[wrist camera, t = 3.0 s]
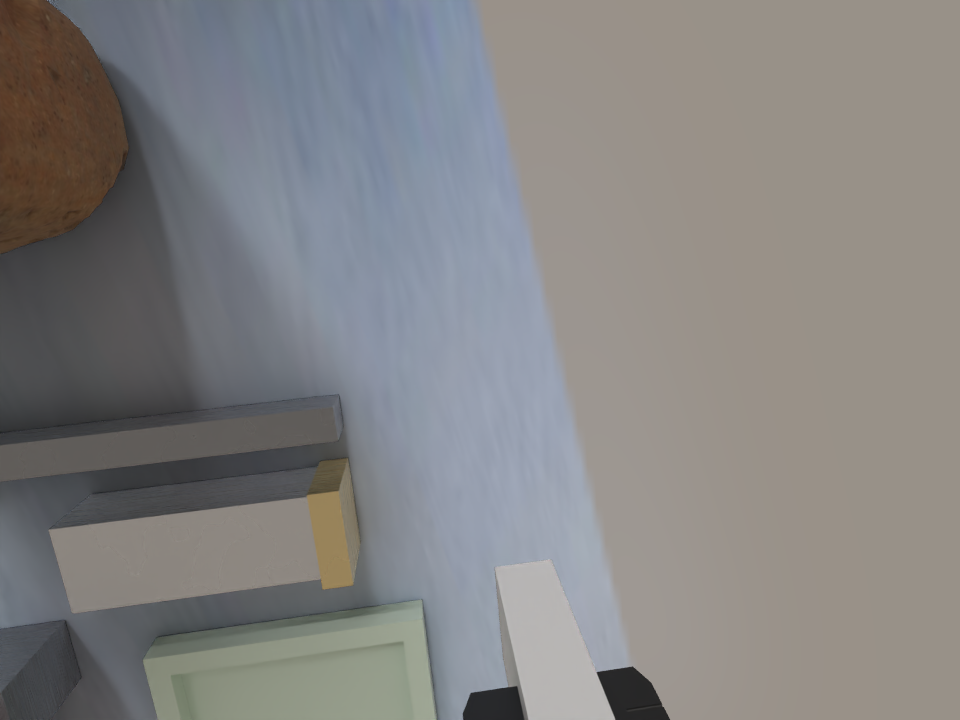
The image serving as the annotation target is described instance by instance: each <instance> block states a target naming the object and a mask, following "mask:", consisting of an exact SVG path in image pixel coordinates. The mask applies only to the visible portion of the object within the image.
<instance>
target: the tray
mask: <svg viewBox="0 0 960 720" xmlns="http://www.w3.org/2000/svg"><path fill="white" fill-rule="evenodd" d="M143 664H144V668H145V672H146V676H147V680H148V684H149V687H150V691H151V695H152V699H153V703H154V707H155V711H156V715H157V719H158V720H437V714H436V706H435V698H434V690H433V682H432V674H431V666H430V659H429V651H428V643H427V635H426V627H425V619H424V611H423V603H422V599H421V600H414V601H407V602H400V603H393V604H386V605H379V606H372V607H365V608H358V609H351V610H344V611H337V612H330V613H323V614H316V615H309V616H302V617H295V618H288V619H281V620H274V621H267V622H260V623H254V624H247V625H240V626H233V627H226V628H219V629H212V630H205V631H198V632H191V633H184V634H177V635H170V636H163V637H156V639H155V641H154V642H153V644H152V645H151V647H150V649H149V650H148V652H147V653H146V655H145V657H144V658H143Z"/></svg>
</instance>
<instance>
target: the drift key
mask: <svg viewBox="0 0 960 720" xmlns="http://www.w3.org/2000/svg"><path fill="white" fill-rule="evenodd" d="M49 534H50V537H51V541H52V544H53V548H54V551H55V555H56V558H57V562H58V565H59V569H60V572H61V576H62V580H63V583H64V587H65V590H66V594H67V597H68V601H69V604H70V608H71V611H72V614H74V613H82V612H89V611H96V610H103V609H111V608H118V607H125V606H132V605H139V604H147V603H154V602H161V601H168V600H176V599H183V598H190V597H197V596H205V595H212V594H219V593H226V592H233V591H241V590H248V589H255V588H262V587H270V586H277V585H284V584H291V583H299V582H306V581H313V580H320V579H321V583H322V589H323V590H324V589H331V588H339V587H346V586H353V584H354V578H355V572H356V566H357V560H358V555H359V549H360V543H361V541H360V534H359V527H358V521H357V514H356V507H355V500H354V494H353V487H352V480H351V474H350V467H349V460H348V458H341V459H333V460H324V461H320V463H319V465H318V467H310V468H302V469H294V470H286V471H278V472H269V473H261V474H253V475H245V476H237V477H229V478H221V479H213V480H204V481H196V482H188V483H180V484H172V485H164V486H156V487H148V488H139V489H131V490H123V491H115V492H107V493H99V494H91V495H89V496H88V497H87V498H86V499H85V500H83V501H82V502H81V503H80V504H79V505H78V506H76V507H75V508H74V509H73V510H72V511H70V512H69V513H68V514H67V515H66V516H64V517H63V518H62V519H61V520H60V521H58V522H57V523H56V524H55V525H54V526H52V527H51V528H50V529H49Z"/></svg>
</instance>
